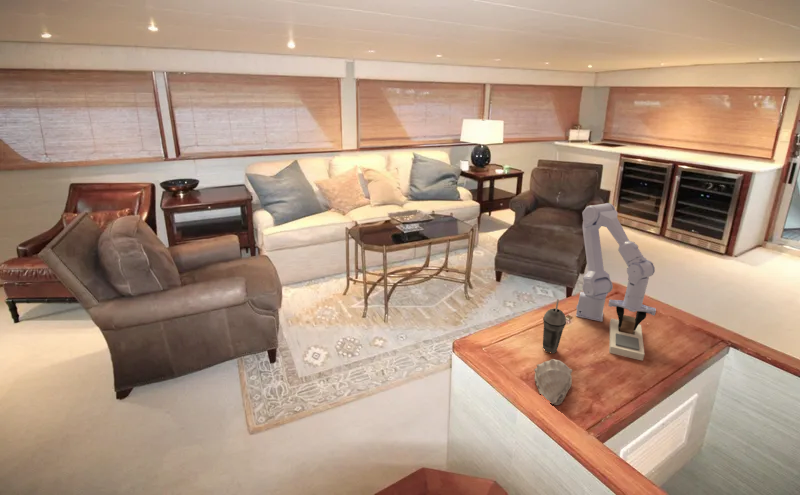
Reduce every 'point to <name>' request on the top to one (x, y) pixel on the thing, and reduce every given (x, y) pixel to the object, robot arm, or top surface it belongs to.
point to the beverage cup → (553, 328)
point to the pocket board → (622, 350)
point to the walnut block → (627, 324)
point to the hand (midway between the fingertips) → (626, 327)
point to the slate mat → (627, 341)
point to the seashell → (553, 380)
